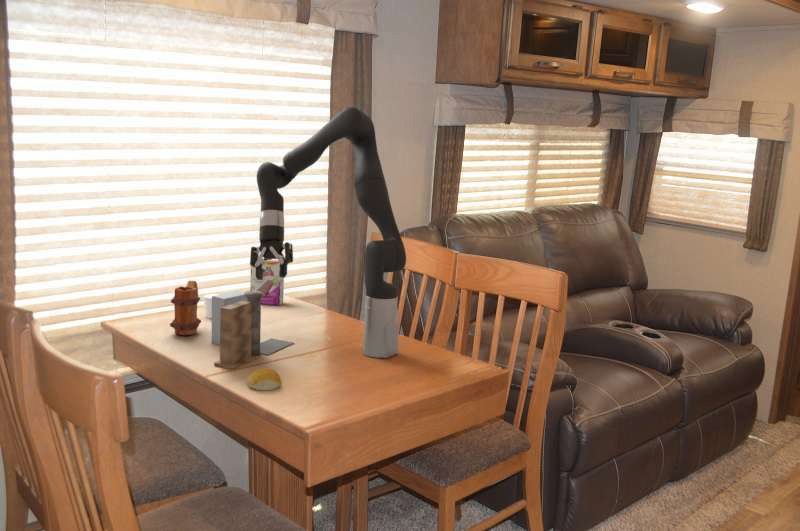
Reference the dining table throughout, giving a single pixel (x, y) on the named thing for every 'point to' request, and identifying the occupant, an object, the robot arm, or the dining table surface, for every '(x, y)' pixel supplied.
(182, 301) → the mug
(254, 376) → the bread roll
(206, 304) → the beige cup
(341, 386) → the dining table surface
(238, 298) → the light grey block
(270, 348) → the seat pad
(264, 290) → the candy bar box
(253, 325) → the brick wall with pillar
